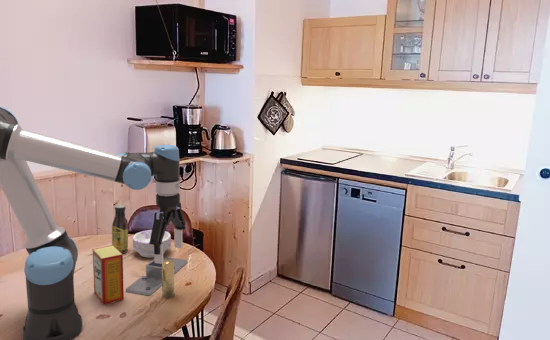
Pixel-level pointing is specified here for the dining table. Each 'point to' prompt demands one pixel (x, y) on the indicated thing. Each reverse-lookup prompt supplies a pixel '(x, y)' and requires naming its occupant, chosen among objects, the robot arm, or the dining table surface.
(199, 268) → the dining table surface
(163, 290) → the hinge pin
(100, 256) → the baking soda box
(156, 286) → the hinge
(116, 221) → the sauce bottle
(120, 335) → the dining table surface
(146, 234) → the paper bowls
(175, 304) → the dining table surface
